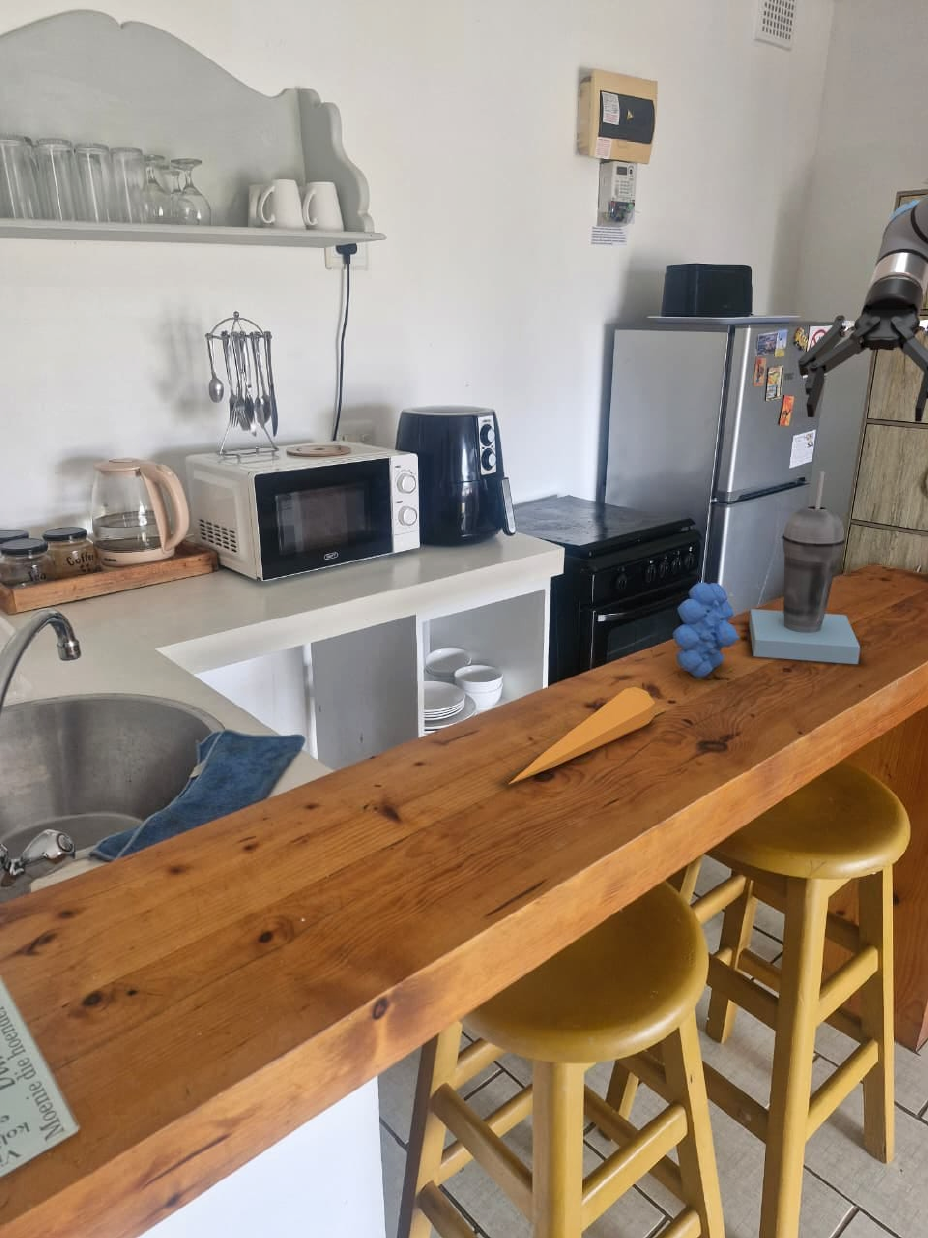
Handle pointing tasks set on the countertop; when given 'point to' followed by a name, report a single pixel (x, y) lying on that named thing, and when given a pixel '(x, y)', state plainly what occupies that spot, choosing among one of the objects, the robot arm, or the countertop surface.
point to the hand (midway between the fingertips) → (862, 413)
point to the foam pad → (803, 639)
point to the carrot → (598, 729)
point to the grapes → (704, 629)
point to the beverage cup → (810, 564)
